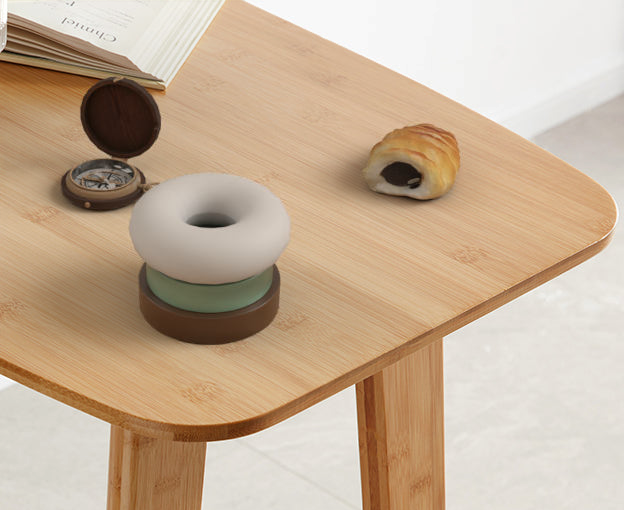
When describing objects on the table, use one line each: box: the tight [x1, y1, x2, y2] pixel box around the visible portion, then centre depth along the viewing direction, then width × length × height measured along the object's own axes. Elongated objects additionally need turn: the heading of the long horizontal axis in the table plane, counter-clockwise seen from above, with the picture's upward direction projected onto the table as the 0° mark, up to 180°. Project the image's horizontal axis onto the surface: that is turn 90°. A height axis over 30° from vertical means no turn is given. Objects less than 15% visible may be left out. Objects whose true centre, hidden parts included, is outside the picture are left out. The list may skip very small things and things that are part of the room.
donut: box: [128, 172, 292, 284], centre depth 70 cm, size 10×4×10 cm
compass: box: [60, 75, 162, 211], centre depth 82 cm, size 8×8×7 cm
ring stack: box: [138, 225, 281, 345], centre depth 72 cm, size 9×9×4 cm
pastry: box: [362, 122, 461, 200], centre depth 87 cm, size 9×7×4 cm
